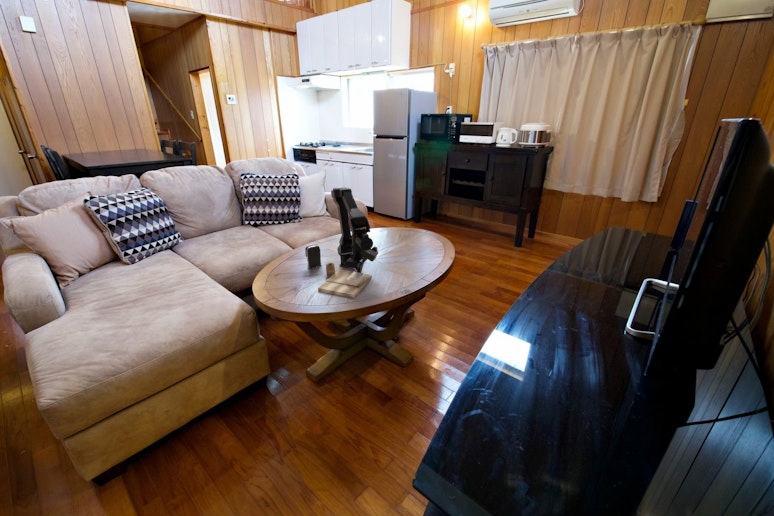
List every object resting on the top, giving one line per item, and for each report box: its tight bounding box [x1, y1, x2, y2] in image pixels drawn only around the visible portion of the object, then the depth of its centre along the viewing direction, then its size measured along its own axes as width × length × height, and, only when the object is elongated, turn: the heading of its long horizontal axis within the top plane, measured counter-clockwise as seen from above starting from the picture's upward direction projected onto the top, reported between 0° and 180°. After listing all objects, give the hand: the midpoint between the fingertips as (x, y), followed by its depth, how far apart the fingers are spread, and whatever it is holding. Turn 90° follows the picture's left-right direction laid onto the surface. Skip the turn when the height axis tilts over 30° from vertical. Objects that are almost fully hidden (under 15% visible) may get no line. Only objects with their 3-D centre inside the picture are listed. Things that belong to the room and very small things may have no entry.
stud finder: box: [346, 271, 365, 286], centre depth 149 cm, size 5×8×3 cm, turn 160°
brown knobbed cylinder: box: [325, 262, 336, 279], centre depth 157 cm, size 4×4×7 cm
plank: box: [317, 269, 373, 299], centre depth 150 cm, size 17×20×2 cm
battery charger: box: [304, 244, 322, 270], centre depth 165 cm, size 7×4×11 cm, turn 129°
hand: (359, 274), depth 153 cm, fingers closed
